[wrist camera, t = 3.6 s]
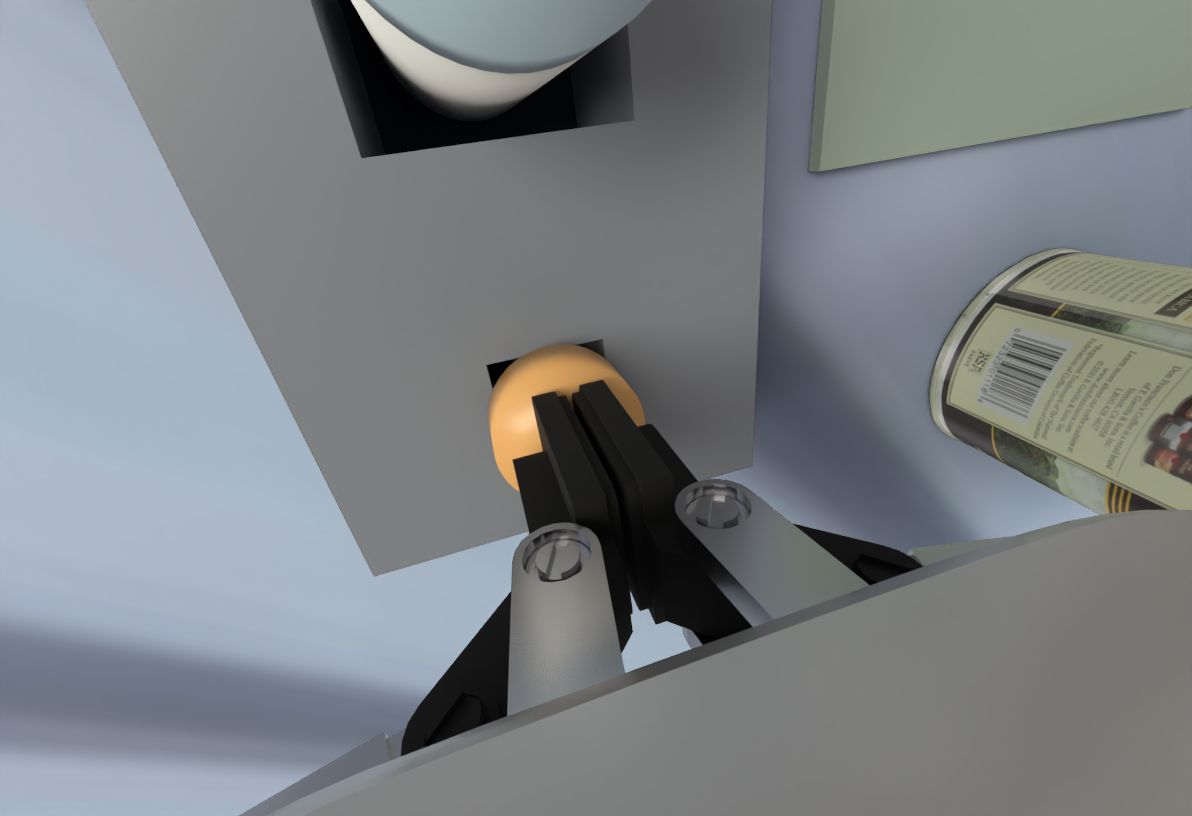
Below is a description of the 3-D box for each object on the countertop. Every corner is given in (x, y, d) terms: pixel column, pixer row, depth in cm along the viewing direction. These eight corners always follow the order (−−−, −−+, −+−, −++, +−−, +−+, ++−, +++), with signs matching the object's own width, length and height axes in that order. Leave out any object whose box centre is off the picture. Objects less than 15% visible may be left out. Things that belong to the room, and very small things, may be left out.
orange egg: (464, 310, 15) (475, 389, 10) (574, 288, 16) (639, 350, 11) (490, 410, 17) (512, 519, 12) (588, 386, 17) (650, 480, 12)
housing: (75, -276, 9) (-248, -658, 5) (661, -266, 11) (794, -523, 7) (389, 477, 18) (373, 576, 14) (686, 400, 20) (752, 465, 16)
